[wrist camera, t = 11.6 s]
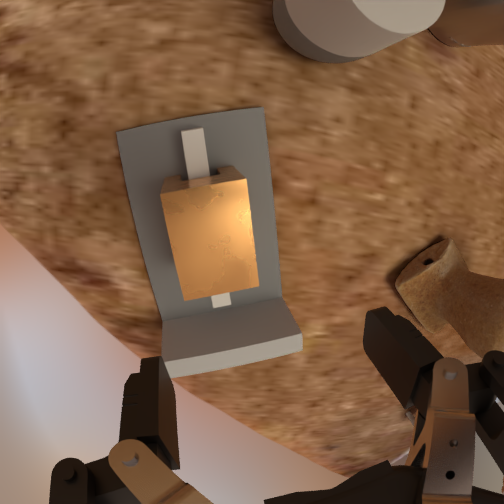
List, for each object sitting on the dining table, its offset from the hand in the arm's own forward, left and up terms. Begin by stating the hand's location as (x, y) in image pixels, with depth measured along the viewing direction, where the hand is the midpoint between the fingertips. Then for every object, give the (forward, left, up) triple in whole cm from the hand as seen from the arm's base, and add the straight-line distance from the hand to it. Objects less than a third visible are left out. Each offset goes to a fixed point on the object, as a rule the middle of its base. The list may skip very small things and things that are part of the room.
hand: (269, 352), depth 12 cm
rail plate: (+2, -1, -18) cm, 19 cm away
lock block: (0, -1, -17) cm, 17 cm away
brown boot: (+14, +27, -19) cm, 35 cm away
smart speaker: (-16, +11, -19) cm, 27 cm away
